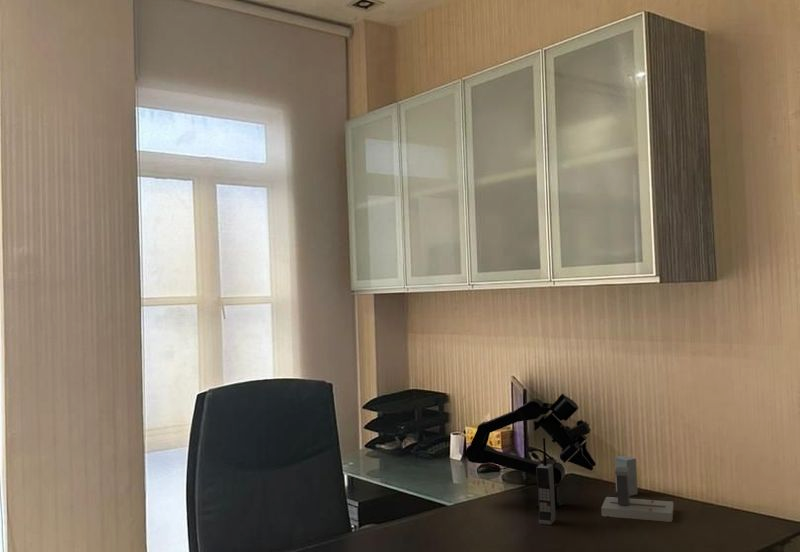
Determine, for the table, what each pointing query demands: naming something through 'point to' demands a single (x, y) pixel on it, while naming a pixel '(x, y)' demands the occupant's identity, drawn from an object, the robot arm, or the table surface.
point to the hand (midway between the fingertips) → (593, 467)
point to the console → (639, 509)
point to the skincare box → (631, 464)
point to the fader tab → (623, 485)
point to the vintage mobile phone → (546, 491)
